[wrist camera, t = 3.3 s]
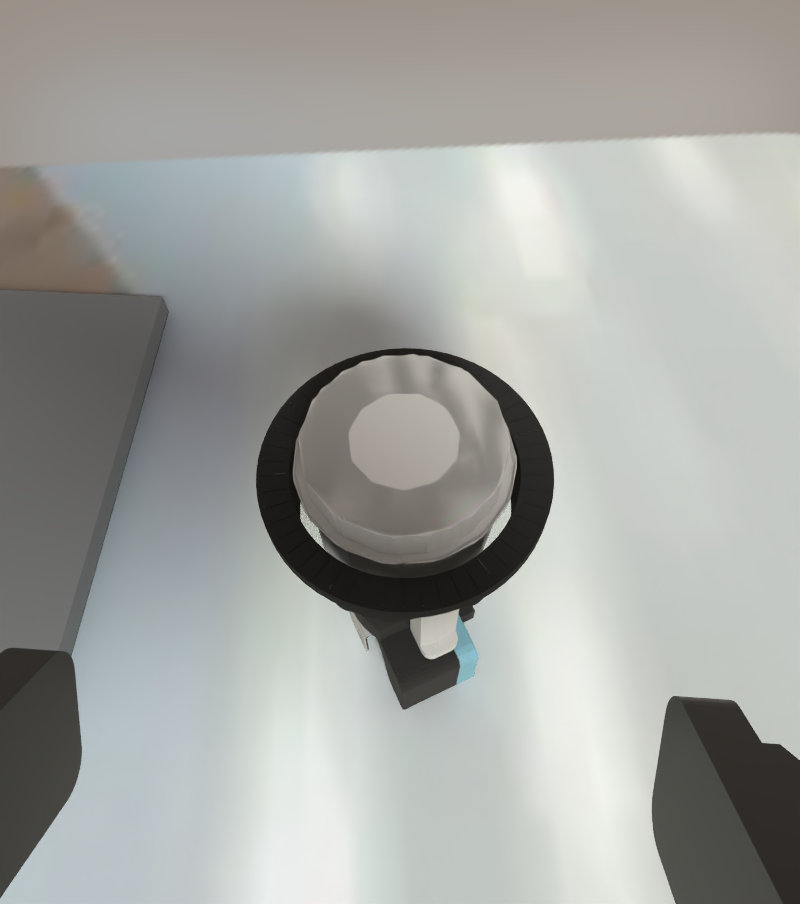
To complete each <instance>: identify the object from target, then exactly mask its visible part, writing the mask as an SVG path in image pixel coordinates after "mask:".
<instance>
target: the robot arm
mask: <svg viewBox="0 0 800 904" xmlns="http://www.w3.org/2000/svg"><path fill="white" fill-rule="evenodd" d="M81 756H82V746H81V735H80V724H79V713H78V702H77V691H76V680H75V669H74V663H73V660H72V658H71V656H70V655H69V653H67V652H65V651H55V650H41V649H27V648H8V649H5V650H4V651H2V652H1V653H0V898H1V896H2V895H3V893H4V892H5V890H6V889H7V888H8V886H9V885H10V883H11V882H12V880H13V879H14V877H15V876H16V874H17V873H18V872H19V870H20V869H21V867H22V866H23V864H24V863H25V861H26V860H27V858H28V857H29V856H30V854H31V853H32V851H33V850H34V848H35V847H36V845H37V844H38V842H39V841H40V840H41V838H42V837H43V835H44V834H45V832H46V831H47V829H48V828H49V826H50V825H51V824H52V822H53V821H54V819H55V818H56V816H57V815H58V813H59V812H60V810H61V809H62V808H63V806H64V805H65V803H66V802H67V800H68V798H69V797H70V795H71V793H72V791H73V789H74V786H75V784H76V781H77V778H78V774H79V770H80V765H81ZM652 821H653V831H654V837H655V842H656V846H657V850H658V853H659V856H660V859H661V862H662V865H663V868H664V870H665V873H666V876H667V879H668V882H669V885H670V888H671V891H672V894H673V897H674V900H675V903H676V904H800V760H798V759H797V758H796V757H795V756H794V755H792V754H791V753H790V752H789V751H787V750H786V749H785V748H784V747H782V746H781V745H780V744H767V743H762V742H761V741H760V739H759V738H758V736H757V734H756V733H755V731H754V730H753V728H752V726H751V725H750V723H749V722H748V720H747V718H746V717H745V715H744V714H743V712H742V710H741V709H740V707H739V706H738V704H737V703H736V702H734V701H732V700H722V699H708V698H694V697H680V696H673V697H672V698H671V699H670V700H669V702H668V705H667V708H666V713H665V719H664V726H663V732H662V738H661V745H660V751H659V758H658V764H657V770H656V777H655V783H654V789H653V797H652Z"/></svg>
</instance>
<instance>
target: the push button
mask: <svg viewBox="0 0 800 904" xmlns="http://www.w3.org/2000/svg"><path fill="white" fill-rule="evenodd" d="M256 488H257V498H258V504H259V508H260V512H261V516H262V519H263V521H264V524H265V527H266V529H267V532H268V534H269V536H270V538H271V540H272V542H273V544H274V546H275V548H276V550H277V551H278V553H279V554H280V556H281V557H282V559H283V560H284V562H285V563H286V564H287V565H288V567H289V568H290V569H291V570H292V571H293V572H294V573H295V574H296V575H297V576H298V577H299V578H300V579H301V580H302V581H303V582H304V583H305V584H306V585H308V586H309V587H311V588H312V589H313V590H315V591H316V592H317V593H319V594H320V595H322V596H324V597H326V598H327V599H329V600H331V601H332V602H335V603H336V604H337V605H338V606H339V607H341V608H342V609H344V610H347V611H350V614H351V617H352V620H353V622H354V625H355V627H356V629H357V631H358V634H359V636H360V638H361V641H362V643H363V645H364V647H365V649H366V651H368V650H369V648H368V643H367V639H366V638H367V637H369V636H371V635H373V636H375V637H376V638H377V641H378V643H379V645H380V648H381V651H382V654H383V658H384V661H385V665H386V669H387V672H388V676H389V679H390V682H391V684H392V687H393V689H394V691H395V693H396V696H397V698H398V700H399V702H400V705H401V707H402V708H403V709H404V710H405V709H407V708H409V707H411V706H413V705H415V704H417V703H419V702H421V701H423V700H425V699H427V698H429V697H431V696H433V695H436V694H438V693H440V692H442V691H444V690H446V689H448V688H450V687H452V686H454V685H456V684H458V683H460V682H462V681H465V680H467V679H469V678H471V677H473V676H474V674H475V673H474V670H475V667H476V664H477V661H478V654H477V651H476V648H475V646H474V644H473V642H472V640H471V638H470V636H469V634H468V632H467V630H466V628H465V626H464V624H463V622H465V621H467V620H470V619H472V618H473V617H474V613H475V610H474V608H473V605H475V604H477V603H478V602H480V601H481V600H482V599H483V598H484V597H485V596H487V595H489V594H491V593H492V592H494V591H495V590H496V589H498V588H499V587H500V586H502V585H503V584H504V583H505V582H507V581H508V580H509V579H510V578H511V577H512V576H513V575H514V574H515V573H516V572H517V571H518V570H519V568H520V567H521V566H522V565H523V564H524V563H525V561H526V560H527V559H528V557H529V556H530V554H531V553H532V551H533V550H534V548H535V546H536V544H537V542H538V540H539V538H540V536H541V534H542V531H543V529H544V526H545V523H546V521H547V518H548V515H549V512H550V507H551V503H552V498H553V488H554V469H553V462H552V456H551V452H550V448H549V445H548V441H547V439H546V436H545V434H544V431H543V429H542V427H541V425H540V423H539V421H538V420H537V418H536V416H535V415H534V413H533V412H532V410H531V409H530V407H529V406H528V405H527V404H526V402H525V401H524V400H523V399H522V398H521V397H520V395H519V394H518V393H516V392H515V391H514V390H513V389H512V388H511V387H510V386H509V385H508V384H507V383H505V382H504V381H503V380H501V379H500V378H499V377H497V376H496V375H494V374H493V373H491V372H490V371H488V370H487V369H485V368H483V367H481V366H479V365H477V364H475V363H473V362H470V361H468V360H465V359H463V358H460V357H457V356H454V355H450V354H447V353H442V352H437V351H432V350H424V349H408V348H402V349H387V350H380V351H374V352H370V353H365V354H361V355H358V356H355V357H352V358H349V359H346V360H344V361H342V362H339V363H337V364H335V365H333V366H331V367H329V368H327V369H325V370H323V371H322V372H320V373H319V374H317V375H316V376H314V377H313V378H311V379H310V380H309V381H307V382H306V383H305V384H304V385H302V386H301V387H300V388H299V389H298V390H297V391H296V392H295V393H294V394H293V395H292V396H291V397H290V398H289V399H288V400H287V401H286V403H285V404H284V405H283V406H282V407H281V409H280V410H279V412H278V413H277V415H276V416H275V418H274V419H273V421H272V423H271V425H270V427H269V429H268V431H267V433H266V436H265V438H264V441H263V443H262V446H261V450H260V454H259V458H258V465H257V474H256ZM510 499H511V517H510V519H509V521H508V523H507V525H506V526H505V528H504V529H503V530H502V532H501V533H500V534H499V536H498V537H497V538H496V539H495V540H494V541H493V542H492V543H491V544H490V545H489V546H488V547H487V548H486V549H485V550H483V548H484V546H485V543H486V541H487V538H488V536H489V533H490V531H491V528H492V526H493V524H494V523H495V522H496V520H497V519H498V518H499V516H500V515H501V514H502V513H503V511H504V510H505V509H506V507H507V505H508V503H509V501H510ZM300 502H301V503H302V506H303V508H304V511H305V513H306V514H307V516H308V517H309V519H310V521H311V522H313V523H314V524H315V525H316V526H317V527H318V528H319V531H320V535H321V539H322V542H323V546H324V548H325V549H326V551H327V552H326V551H325V550H324V549H323V548H322V547H321V546H320V545H319V544H318V543H317V542H316V541H315V540H314V539H313V538H312V537H311V535H310V534H309V533H308V532H307V530H306V529H305V527H304V526H303V524H302V522H301V519H300Z"/></svg>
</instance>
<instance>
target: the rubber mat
mask: <svg viewBox="0 0 800 904" xmlns="http://www.w3.org/2000/svg"><path fill="white" fill-rule="evenodd" d="M167 315H168V309H167V307H166V305H165V302H164V300H163V298H162V297H159V296H136V295H113V294H90V293H68V292H45V291H22V290H0V653H1V652H2V651H4V650H5V649H8V648H27V649H41V650H55V651H65V652H67V653H69V655H70V656H71V654H72V651H73V647H74V644H75V640H76V637H77V633H78V629H79V626H80V622H81V619H82V615H83V612H84V608H85V605H86V601H87V598H88V594H89V591H90V587H91V584H92V580H93V576H94V573H95V569H96V566H97V562H98V559H99V555H100V552H101V548H102V545H103V541H104V538H105V534H106V531H107V527H108V523H109V520H110V516H111V513H112V509H113V506H114V502H115V499H116V495H117V492H118V488H119V485H120V481H121V478H122V474H123V471H124V467H125V463H126V460H127V456H128V453H129V449H130V446H131V442H132V439H133V435H134V432H135V428H136V425H137V421H138V418H139V414H140V410H141V407H142V403H143V400H144V396H145V393H146V389H147V386H148V382H149V379H150V375H151V372H152V368H153V365H154V361H155V358H156V354H157V350H158V347H159V343H160V340H161V336H162V333H163V329H164V326H165V322H166V319H167Z"/></svg>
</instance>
